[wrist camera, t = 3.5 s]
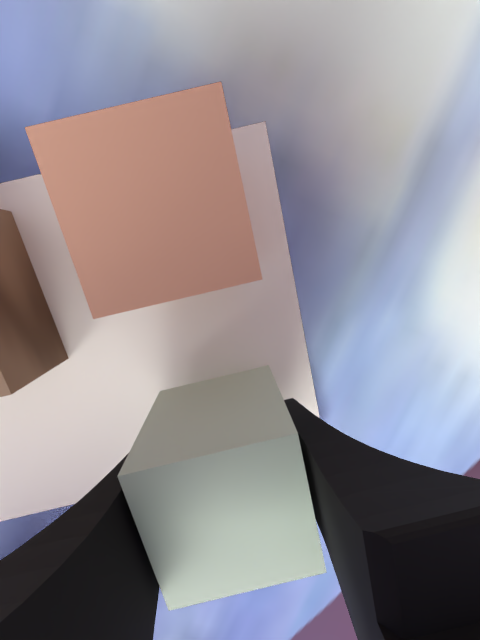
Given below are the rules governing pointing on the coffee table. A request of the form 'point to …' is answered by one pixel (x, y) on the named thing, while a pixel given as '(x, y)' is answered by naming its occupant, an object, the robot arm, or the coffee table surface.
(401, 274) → the coffee table surface
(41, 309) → the walnut block
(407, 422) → the coffee table surface
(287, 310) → the cream board
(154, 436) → the sage block
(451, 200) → the coffee table surface
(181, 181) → the terracotta block
